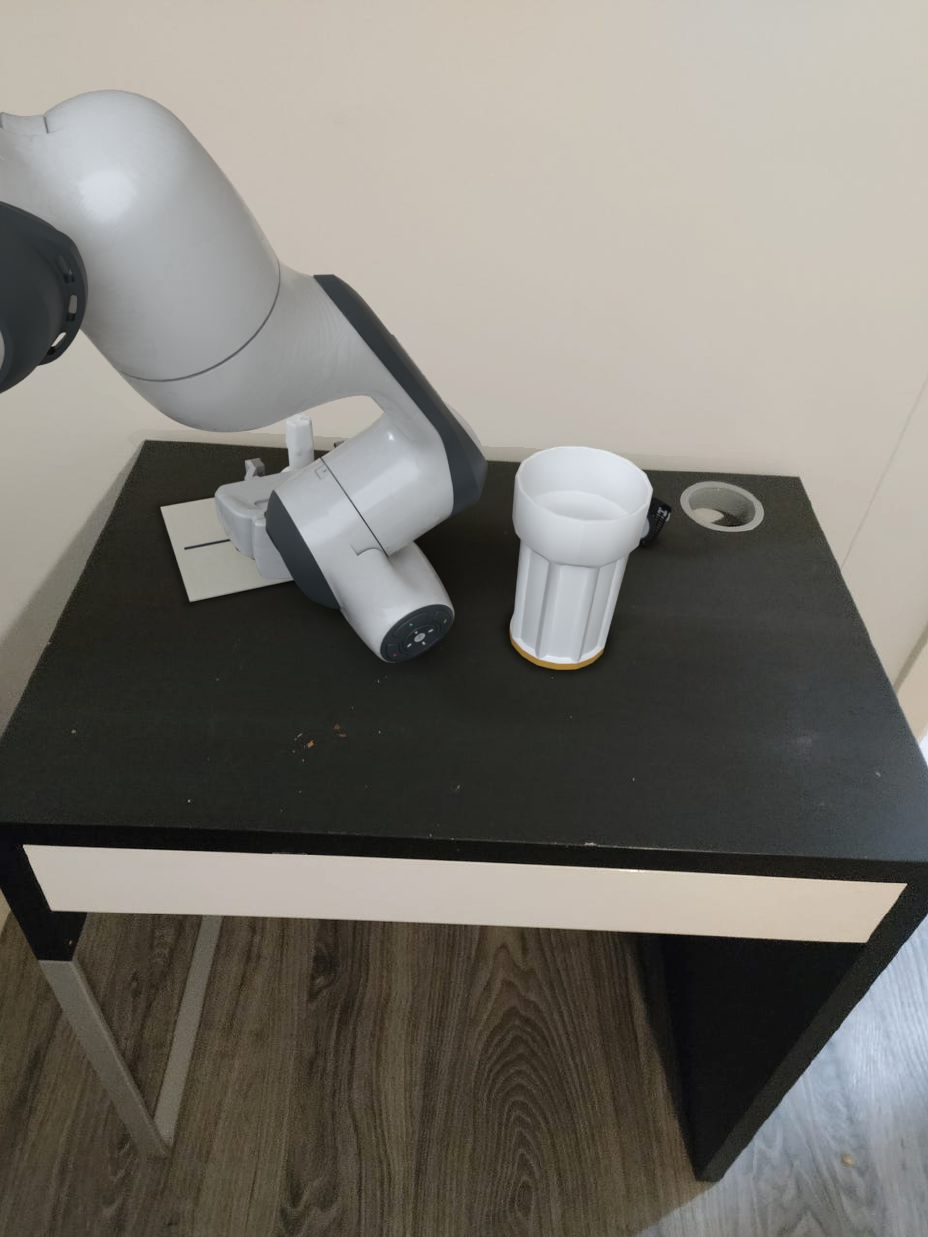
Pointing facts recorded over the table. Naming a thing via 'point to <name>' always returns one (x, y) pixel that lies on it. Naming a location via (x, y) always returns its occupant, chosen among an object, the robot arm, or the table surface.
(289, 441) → the candle
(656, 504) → the smartwatch
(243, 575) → the sketch sheet
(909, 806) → the table surface
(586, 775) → the table surface
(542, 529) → the cup
